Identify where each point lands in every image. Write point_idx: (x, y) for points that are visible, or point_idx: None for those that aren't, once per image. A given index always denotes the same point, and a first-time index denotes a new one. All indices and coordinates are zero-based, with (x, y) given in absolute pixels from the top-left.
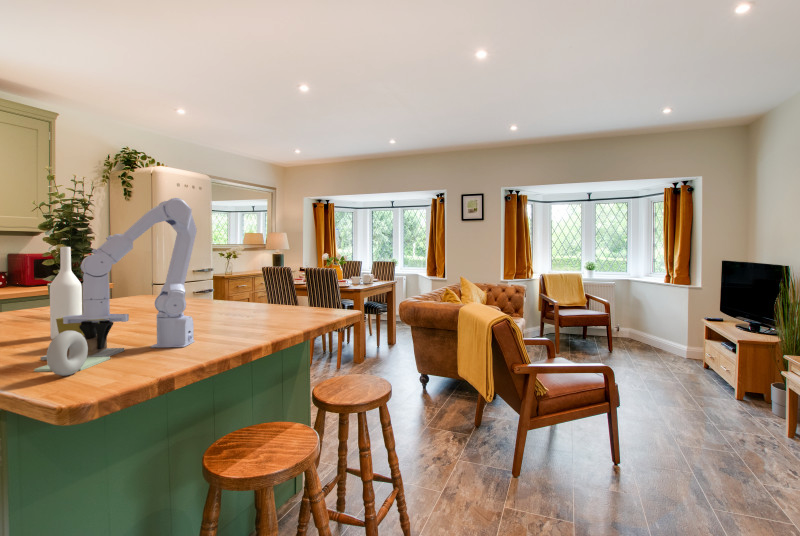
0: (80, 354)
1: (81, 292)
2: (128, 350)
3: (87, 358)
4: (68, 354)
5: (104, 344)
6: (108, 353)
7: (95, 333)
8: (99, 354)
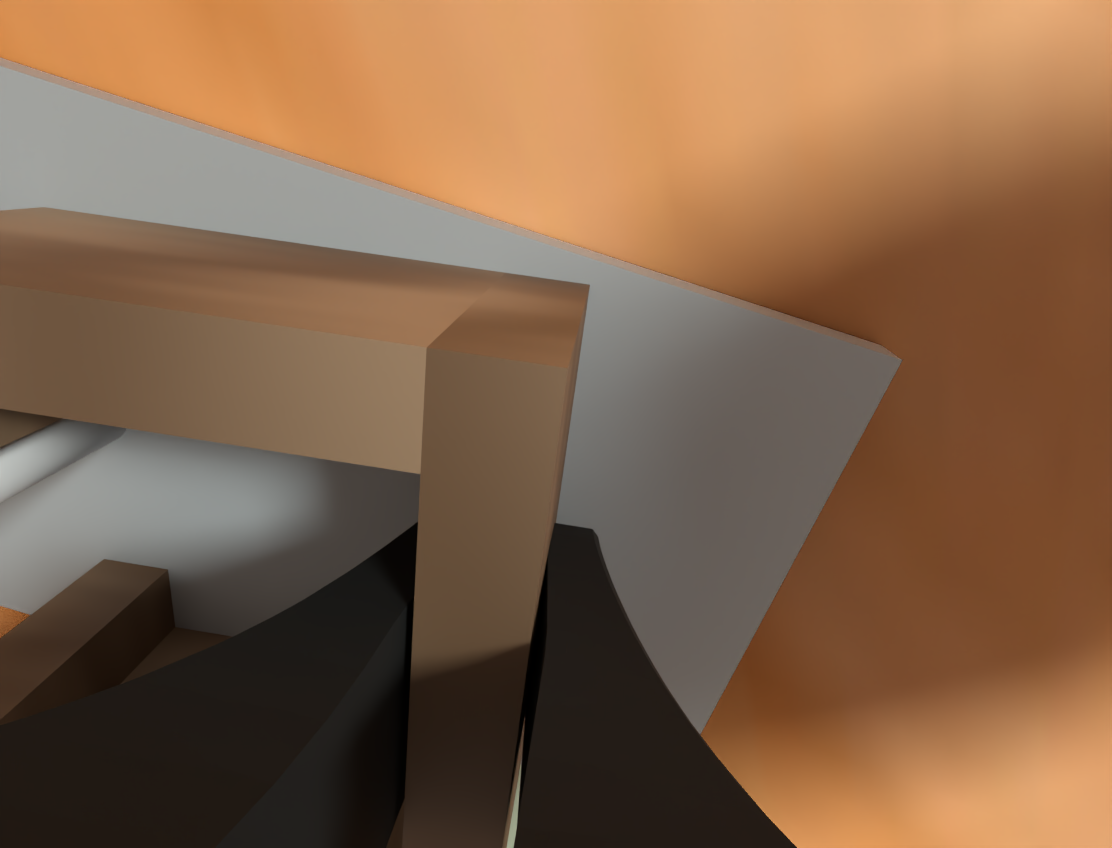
0: None
1: None
2: (947, 338)
3: (512, 812)
4: None
5: (602, 563)
6: (705, 704)
7: (369, 733)
8: None
